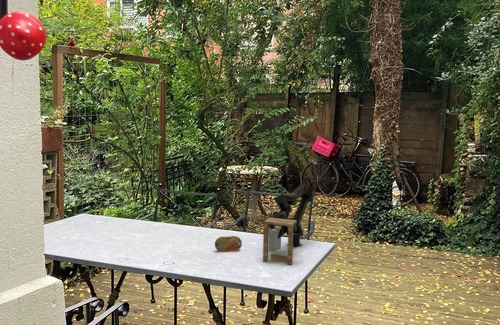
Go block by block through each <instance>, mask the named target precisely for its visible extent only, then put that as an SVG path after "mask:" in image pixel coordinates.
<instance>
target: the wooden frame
mask: <svg viewBox="0 0 500 325" xmlns="http://www.w3.org/2000/svg"><path fill="white" fill-rule="evenodd" d="M267 218H268V219H266V220H265V221H264V223H263V235H262V236H263V238H262V239H263V242H262V244H263V245H262V246H263V247H262V262H264V263H268V262H269V251H268V245H269V230H270V228H269V224H274V225H284V226H288V235H287V244H288V245H287V255H283V254H282V255H281V254H275V253H271V254H270V261H272V262H273V261H276V262H283V263H286V264H287V266H292V265H293V255H294V250H293V249H294V247H293V225H294V224H296V223H297V220H288V219H278V218H273V217H267Z"/></svg>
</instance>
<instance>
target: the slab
mask: <svg viewBox="0 0 500 325" xmlns="http://www.w3.org/2000/svg"><path fill="white" fill-rule="evenodd" d="M280 230H281V228H278V227H275V228H273V229H271V228H270V229H269V239H268V252H269V251H270V252H273V253H275V252H277V251H279V250H281V249H282V237H280V238H279V239H278V235H279V233H280Z"/></svg>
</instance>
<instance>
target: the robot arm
mask: <svg viewBox="0 0 500 325" xmlns="http://www.w3.org/2000/svg"><path fill="white" fill-rule="evenodd" d="M315 196H316V191H315V190H314V188H312V187H309V185H308V184H302V183H301V184H298V186H297V187H296V188H295V189H294V190H293V191H292V192H290V193H280V195H278V196H276V197H275V198H274V200H275V204H276V205H277V208H278V209H279V211H273V213H272V216H271V218H278V219H288V220H297V223H296V224H294V225H293V246H294V247H295V248H297V247H301V246H302V245H303V244H302V243H301V237H303V236H304V230H303V227H302V220H303V217H304V214H305V212H306V209H307V207H308V205H309V203H310V202H311V201H313V200H314V198H315ZM299 198H300V201H299V203H298V199H299ZM297 203H298V205H297ZM296 205H297V208H296V210H295V213H294V216H293V217H291V218H289V217H290V214H291V213H293V209H292V206H293V207H294V206H296ZM268 218H269V217H267V218H266V217H265V218H263V220H262V223H263V224H264V221H265V220H266V219H268ZM276 227H280V229H281V230H280V233H279V235H278V239H279V238H280V237H281V238H282V237H283V236H284V235H285V234H286V235H287V236H288V226H284V225H274V224H269V229H270V230H271V229H273V228H276ZM286 245H287V246H288V243H287V244H286ZM300 245H301V246H300ZM294 247H293V248H294Z"/></svg>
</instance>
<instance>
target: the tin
mask: <svg viewBox="0 0 500 325" xmlns="http://www.w3.org/2000/svg"><path fill="white" fill-rule="evenodd" d="M242 241H243V240H242V239H241V238H240V237H238V236H235V235H230V236H219V237H218V238H216V240H215V241H214V247H215V249H216V251H218V252H220V253H228V252H229V253H232V252H237V251H239V250H240V249H241V248H242V244H243V242H242Z"/></svg>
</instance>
